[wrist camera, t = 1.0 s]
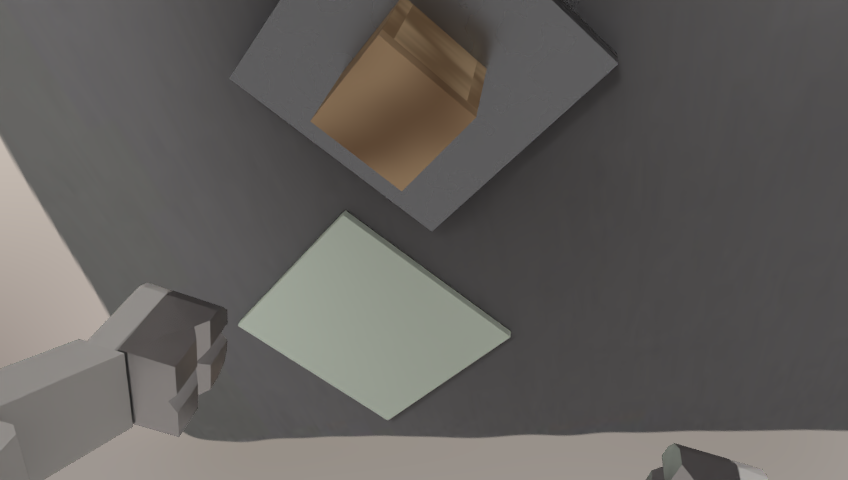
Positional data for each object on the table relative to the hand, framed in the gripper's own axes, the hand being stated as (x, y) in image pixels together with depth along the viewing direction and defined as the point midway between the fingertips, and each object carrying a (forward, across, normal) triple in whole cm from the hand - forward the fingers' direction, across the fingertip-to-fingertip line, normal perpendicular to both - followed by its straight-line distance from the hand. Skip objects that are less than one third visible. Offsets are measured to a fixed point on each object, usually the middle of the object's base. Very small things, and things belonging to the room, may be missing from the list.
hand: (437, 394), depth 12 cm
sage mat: (+30, +6, +28) cm, 41 cm away
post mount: (+28, +6, +5) cm, 29 cm away
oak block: (+27, +6, +5) cm, 28 cm away
